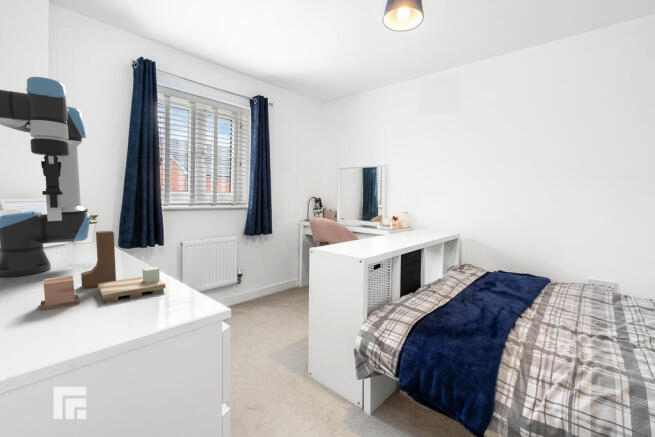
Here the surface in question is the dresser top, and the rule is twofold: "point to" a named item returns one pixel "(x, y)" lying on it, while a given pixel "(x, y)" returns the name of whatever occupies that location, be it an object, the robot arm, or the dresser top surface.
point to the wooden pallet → (128, 288)
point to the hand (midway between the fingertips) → (54, 219)
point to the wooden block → (102, 262)
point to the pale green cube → (150, 274)
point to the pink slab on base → (59, 293)
